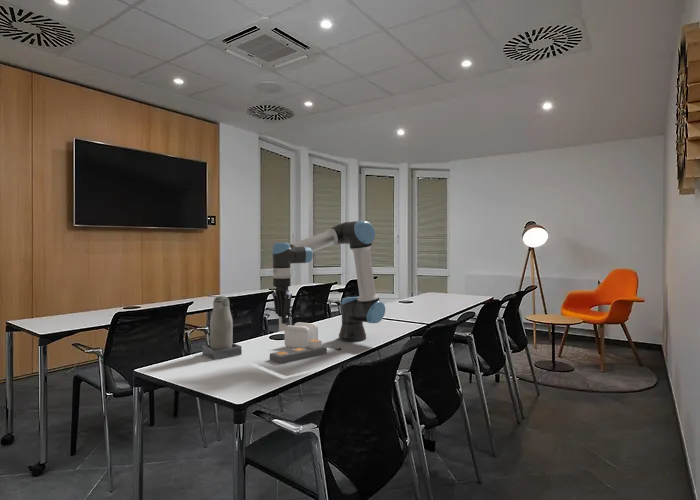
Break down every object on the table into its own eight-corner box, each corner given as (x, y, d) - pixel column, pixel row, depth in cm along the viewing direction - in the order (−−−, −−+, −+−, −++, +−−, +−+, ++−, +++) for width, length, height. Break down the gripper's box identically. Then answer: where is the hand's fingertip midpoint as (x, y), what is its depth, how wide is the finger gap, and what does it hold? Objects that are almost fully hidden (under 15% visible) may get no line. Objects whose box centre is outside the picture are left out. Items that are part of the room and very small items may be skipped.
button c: (283, 358, 192) (283, 351, 192) (289, 360, 189) (289, 353, 189) (275, 360, 189) (275, 352, 189) (280, 362, 186) (280, 354, 186)
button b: (300, 354, 198) (300, 347, 198) (305, 356, 194) (305, 349, 194) (292, 356, 195) (292, 349, 195) (297, 358, 192) (297, 350, 191)
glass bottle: (206, 356, 201) (205, 297, 201) (218, 351, 211) (217, 294, 211) (225, 357, 199) (225, 297, 199) (236, 352, 209) (235, 295, 209)
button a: (315, 346, 204) (315, 339, 204) (321, 347, 200) (321, 340, 200) (308, 347, 201) (308, 340, 201) (313, 349, 197) (313, 342, 197)
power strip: (334, 348, 214) (334, 340, 214) (346, 351, 208) (346, 343, 208) (269, 362, 190) (269, 353, 190) (280, 366, 183) (280, 357, 183)
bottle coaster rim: (228, 349, 215) (228, 341, 214) (241, 354, 204) (241, 346, 204) (202, 354, 206) (202, 346, 206) (214, 359, 195) (214, 351, 195)
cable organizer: (319, 346, 218) (319, 324, 218) (307, 351, 209) (307, 327, 209) (296, 343, 226) (296, 321, 226) (283, 348, 217) (283, 325, 217)
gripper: (266, 277, 191) (267, 329, 191) (282, 278, 181) (283, 334, 182) (281, 276, 196) (281, 327, 196) (297, 277, 186) (298, 331, 186)
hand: (282, 330), depth 189 cm, fingers closed
